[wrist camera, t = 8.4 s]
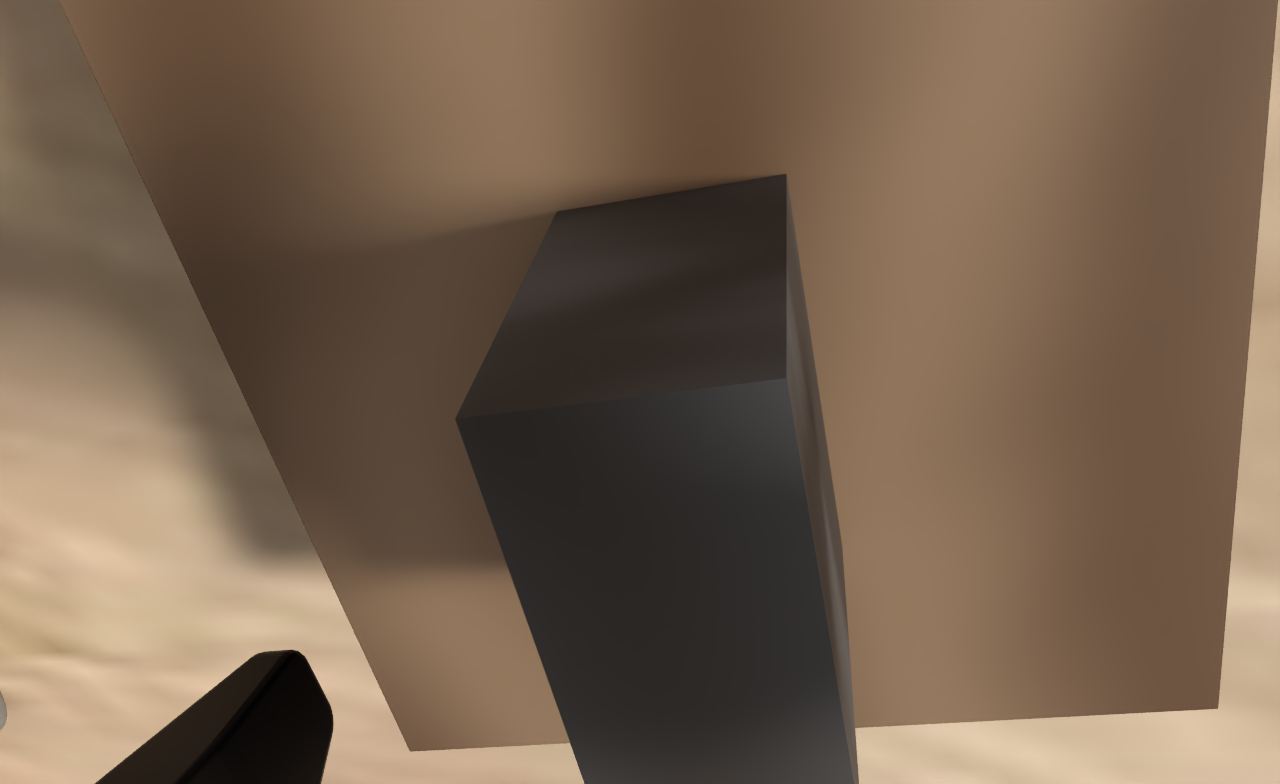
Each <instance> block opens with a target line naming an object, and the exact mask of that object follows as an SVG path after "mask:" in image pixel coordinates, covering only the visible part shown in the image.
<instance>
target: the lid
mask: <svg viewBox="0 0 1280 784" xmlns="http://www.w3.org/2000/svg"><path fill="white" fill-rule="evenodd" d="M59 2H60V4H61V6H62V8H63V11H64V13H65V15H66V17H67V19H68V21H69V23H70V25H71V28H72V30H73V32H74V34H75V36H76V38H77V40H78V43H79V45H80V47H81V49H82V51H83V53H84V55H85V58H86V60H87V62H88V64H89V66H90V68H91V70H92V73H93V75H94V77H95V79H96V81H97V83H98V85H99V87H100V90H101V92H102V94H103V96H104V98H105V100H106V102H107V105H108V107H109V109H110V111H111V113H112V115H113V117H114V120H115V122H116V124H117V126H118V128H119V130H120V132H121V135H122V137H123V139H124V141H125V143H126V145H127V147H128V149H129V152H130V154H131V156H132V158H133V160H134V162H135V164H136V167H137V169H138V171H139V173H140V175H141V177H142V179H143V182H144V184H145V186H146V188H147V190H148V192H149V194H150V197H151V199H152V201H153V203H154V205H155V207H156V209H157V211H158V214H159V216H160V218H161V220H162V222H163V224H164V226H165V229H166V231H167V233H168V235H169V237H170V239H171V241H172V244H173V246H174V248H175V250H176V252H177V254H178V256H179V259H180V261H181V263H182V265H183V267H184V269H185V271H186V273H187V276H188V278H189V280H190V282H191V284H192V286H193V288H194V291H195V293H196V295H197V297H198V299H199V301H200V303H201V306H202V308H203V310H204V312H205V314H206V316H207V318H208V321H209V323H210V325H211V327H212V329H213V331H214V333H215V335H216V338H217V340H218V342H219V344H220V346H221V348H222V350H223V353H224V355H225V357H226V359H227V361H228V363H229V365H230V368H231V370H232V372H233V374H234V376H235V378H236V380H237V383H238V385H239V387H240V389H241V391H242V393H243V395H244V397H245V400H246V402H247V404H248V406H249V408H250V410H251V412H252V415H253V417H254V419H255V421H256V423H257V425H258V427H259V430H260V432H261V434H262V436H263V438H264V440H265V442H266V445H267V447H268V449H269V451H270V453H271V455H272V457H273V459H274V462H275V464H276V466H277V468H278V470H279V472H280V474H281V477H282V479H283V481H284V483H285V485H286V487H287V489H288V492H289V494H290V496H291V498H292V500H293V502H294V504H295V507H296V509H297V511H298V513H299V515H300V517H301V519H302V521H303V524H304V526H305V528H306V530H307V532H308V534H309V536H310V539H311V541H312V543H313V545H314V547H315V549H316V551H317V554H318V556H319V558H320V560H321V562H322V564H323V566H324V569H325V571H326V573H327V575H328V577H329V579H330V581H331V583H332V586H333V588H334V590H335V592H336V594H337V596H338V598H339V601H340V603H341V605H342V607H343V609H344V611H345V613H346V616H347V618H348V620H349V622H350V624H351V626H352V628H353V631H354V633H355V635H356V637H357V639H358V641H359V643H360V645H361V648H362V650H363V652H364V654H365V656H366V658H367V660H368V663H369V665H370V667H371V669H372V671H373V673H374V675H375V678H376V680H377V682H378V684H379V686H380V688H381V690H382V693H383V695H384V697H385V699H386V701H387V703H388V705H389V707H390V710H391V712H392V714H393V716H394V718H395V720H396V722H397V725H398V727H399V729H400V731H401V733H402V735H403V737H404V740H405V742H406V744H407V746H408V748H409V750H410V751H427V750H446V749H465V748H484V747H503V746H522V745H541V744H560V743H570V744H571V746H572V749H573V752H574V755H575V758H576V761H577V763H578V766H579V769H580V772H581V775H582V777H583V780H584V783H585V784H859V779H858V764H857V750H856V736H855V728H862V727H881V726H900V725H919V724H938V723H957V722H975V721H994V720H1013V719H1032V718H1051V717H1070V716H1089V715H1108V714H1127V713H1146V712H1165V711H1183V710H1202V709H1218V702H1219V690H1220V679H1221V667H1222V655H1223V643H1224V631H1225V620H1226V608H1227V596H1228V584H1229V572H1230V561H1231V549H1232V537H1233V525H1234V513H1235V501H1236V490H1237V478H1238V466H1239V454H1240V442H1241V431H1242V419H1243V407H1244V395H1245V383H1246V371H1247V360H1248V348H1249V336H1250V324H1251V312H1252V301H1253V289H1254V277H1255V265H1256V253H1257V241H1258V230H1259V218H1260V206H1261V194H1262V182H1263V171H1264V159H1265V147H1266V135H1267V123H1268V111H1269V100H1270V88H1271V76H1272V64H1273V52H1274V41H1275V29H1276V17H1277V5H1278V0H59Z"/></svg>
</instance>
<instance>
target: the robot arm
mask: <svg viewBox="0 0 1280 784" xmlns="http://www.w3.org/2000/svg"><path fill="white" fill-rule="evenodd" d="M332 733H333V714H332V710H331V706H330V704H329V702H328V700H327V698H326V696H325V694H324V692H323V690H322V688H321V686H320V684H319V682H318V680H317V678H316V676H315V674H314V673H313V671H312V669H311V667H310V665H309V663H308V661H307V659H306V658H305V656H304V655H302V654H301V653H300V652H298V651H295V650H282V651H268V652H262V653H258V654H256V655H254V656H253V657H251V658H250V659H249V660H248V661H246V662H245V663H244V664H243V665H241V666H240V667H239V668H238V669H236V670H235V671H234V672H233V673H231V674H230V675H229V676H228V677H226V678H225V679H224V680H223V681H222V682H220V683H219V684H218V685H217V686H215V687H214V688H213V689H212V690H210V691H209V692H208V693H207V694H205V695H204V696H203V697H202V698H200V699H199V700H198V701H197V702H195V703H194V704H193V705H192V706H190V707H189V708H188V709H187V710H186V711H184V712H183V713H182V714H181V715H179V716H178V717H177V718H176V719H174V720H173V721H172V722H171V723H169V724H168V725H167V726H166V727H164V728H163V729H162V730H161V731H159V732H158V733H157V734H156V735H154V736H153V737H152V738H151V739H150V740H148V741H147V742H146V743H145V744H143V745H142V746H141V747H140V748H138V749H137V750H136V751H135V752H133V753H132V754H131V755H130V756H128V757H127V758H126V759H125V760H123V761H122V762H121V763H120V764H118V765H117V766H116V767H115V768H113V769H112V770H111V771H110V772H109V773H107V774H106V775H105V776H104V777H102V778H101V779H100V780H99V781H97V782H96V783H95V784H321V781H322V777H323V773H324V768H325V764H326V760H327V755H328V751H329V747H330V742H331V738H332Z"/></svg>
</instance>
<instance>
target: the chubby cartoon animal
mask: <svg viewBox="0 0 1280 784" xmlns="http://www.w3.org/2000/svg"><path fill="white" fill-rule="evenodd" d="M6 718H7V709H6V705H5V702H4V699H3V696H2V694H1V692H0V730H1V729H2V728H3V727H4V725H5V722H6Z"/></svg>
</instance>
